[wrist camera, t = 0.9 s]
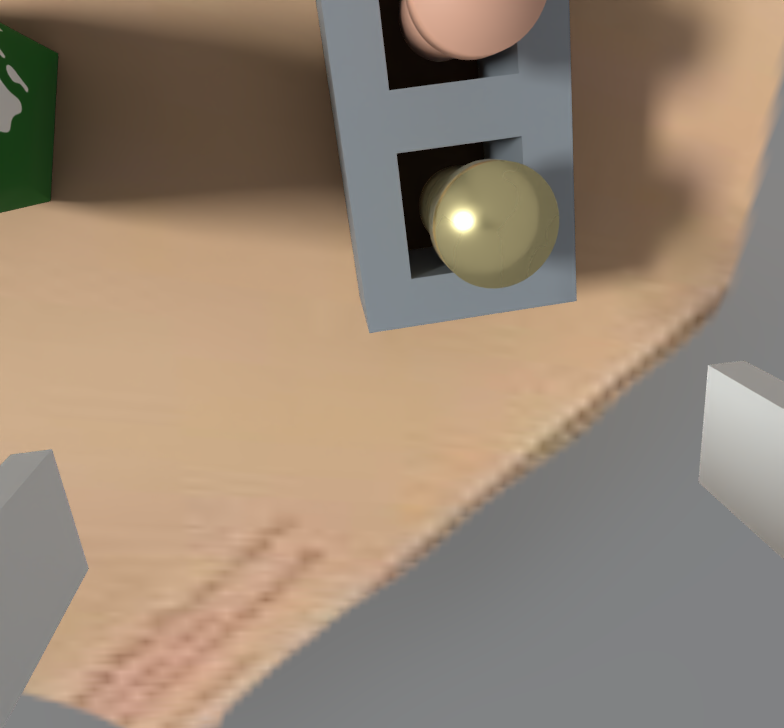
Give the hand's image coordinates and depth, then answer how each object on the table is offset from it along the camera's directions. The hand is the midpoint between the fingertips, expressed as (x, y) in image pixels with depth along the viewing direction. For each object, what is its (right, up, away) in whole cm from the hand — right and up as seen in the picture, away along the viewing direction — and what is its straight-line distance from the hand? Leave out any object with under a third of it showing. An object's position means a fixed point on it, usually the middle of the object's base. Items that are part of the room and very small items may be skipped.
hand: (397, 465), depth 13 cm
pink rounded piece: (+2, +17, +14) cm, 22 cm away
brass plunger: (+3, +10, +17) cm, 20 cm away
